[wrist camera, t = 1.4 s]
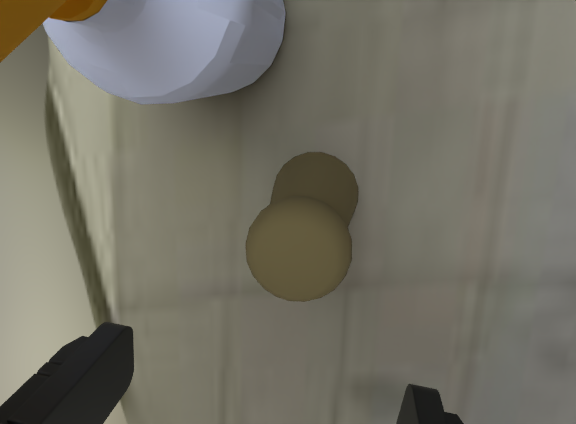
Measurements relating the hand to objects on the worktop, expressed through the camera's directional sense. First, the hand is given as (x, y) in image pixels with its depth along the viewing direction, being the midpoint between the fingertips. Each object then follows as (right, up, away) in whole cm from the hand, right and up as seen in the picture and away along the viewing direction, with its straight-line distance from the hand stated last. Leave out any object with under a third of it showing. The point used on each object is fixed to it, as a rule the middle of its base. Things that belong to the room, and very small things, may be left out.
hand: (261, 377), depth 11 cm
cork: (+3, +6, +17) cm, 18 cm away
